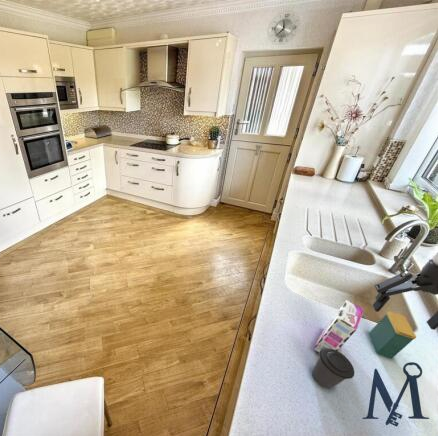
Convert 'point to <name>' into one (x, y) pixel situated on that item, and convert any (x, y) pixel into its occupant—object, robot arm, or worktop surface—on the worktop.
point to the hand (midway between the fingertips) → (401, 316)
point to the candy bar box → (340, 327)
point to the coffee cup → (332, 368)
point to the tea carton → (391, 335)
